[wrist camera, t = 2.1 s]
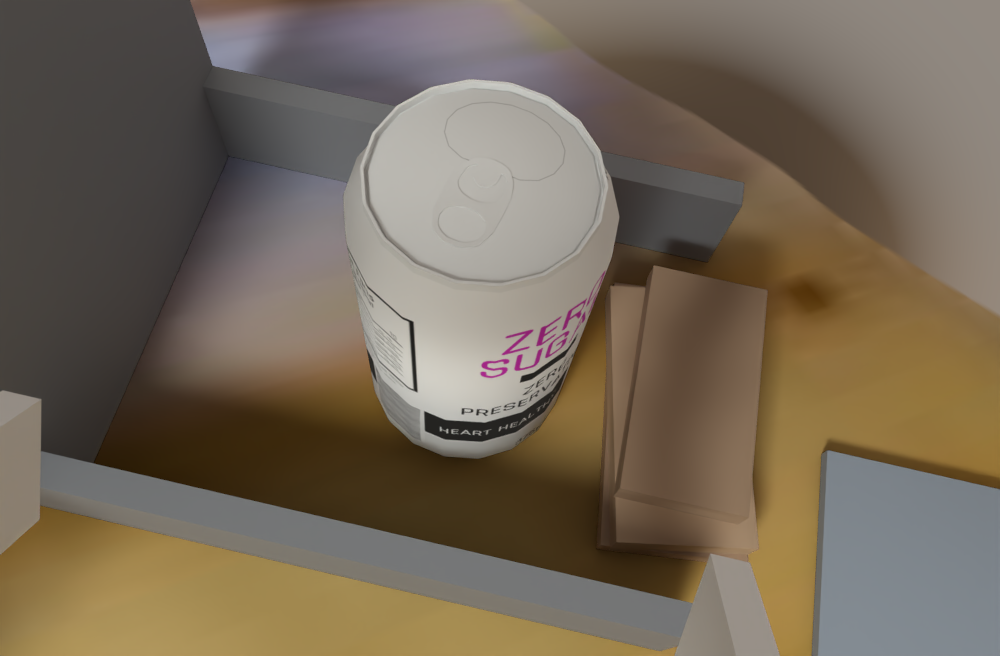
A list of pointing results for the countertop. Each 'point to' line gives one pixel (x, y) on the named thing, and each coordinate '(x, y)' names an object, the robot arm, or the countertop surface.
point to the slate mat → (905, 563)
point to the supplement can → (476, 260)
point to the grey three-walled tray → (160, 251)
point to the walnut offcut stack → (681, 417)
